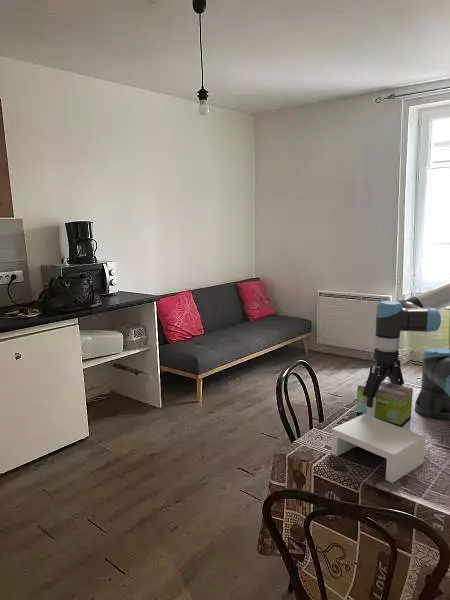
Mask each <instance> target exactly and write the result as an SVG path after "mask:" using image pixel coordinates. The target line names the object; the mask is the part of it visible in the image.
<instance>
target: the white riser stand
mask: <svg viewBox="0 0 450 600" xmlns="http://www.w3.org/2000/svg"><path fill="white" fill-rule="evenodd" d="M425 445H426V436H425V435H422V434H421V433H417V432H415V431H411V430H410V429H409V430H406V429H404V428H401V427H398V426H395V425H393V424H390V423H387V422H385V421H382V420H379V419H376V418H374V417H371V416H368V415H365V414H363V415H361V416H359V417H356V416H355V418H352V419H350V420H348V421H344V422H343V423H341V424H339V425H337V426H334V427H332V428H331V444H330V447H331V449H330V451H331V452H330V453H331V455H333V456H335V457H338V456H340V455H342V454H344V453H346V452H348V451H350V450H351V449H354V448H356V447H359V448H361V449H364V450H365V451H369V452H370V453H372V454H375V455H377V456H380V457H382V458H384V459H386V467H385V480H386V482H387V481H388V482H390V483H391V484H393V483H395V482H397V481H398V480H400V479H401V478H402V477H404V476H405V475H407V474H408V473H410V472H412V471H414V470H415V469H416V468H418V467H419V466H421V465H422V464H424V462H425V461H424V460H425V448H426V447H425Z"/></svg>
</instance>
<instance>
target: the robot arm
mask: <svg viewBox="0 0 450 600" xmlns="http://www.w3.org/2000/svg"><path fill="white" fill-rule="evenodd" d="M448 306H450V280H449V281H446V282H444V283H441V284H440V285H437V286H435V287H433V288H431V289H428V290H425V291H424V292H421V293H420V294H419V293H418V294H417V295H414V296H412V297H409V298H407V299H398V300H381V301H379V302H378V303H377V307H376V314H375V334H374V335H375V336H374V347H375V348H374V350H373V351H374V352H373V359H374V361H376V365H375V366H374V365H370V367H369V373H368V377H367V379H366V381H367V382H366V385H365V388H364V391H363V396H366V397H367V412H366V415H368V416H371V417H375V409H376V398H375V395H376V393H377V391H378V389H379V387H380V384H381V382H382V381H384V380H386V379H387V378H388V379H389V381H390V383H392V384H396V385H401V386H404V383H405V381H404V377H403V376H404V375H403V372H402V369H401V360H399V354H400V353H399V349H400V340H401V339H400V337H401V332H421V333H423V332H424V333H428V332H437V331H438V330H440V328H441V323H442V317H441V313H440V311H439V310H441V309H444V308H446V307H448ZM421 368H422V371H421V385H420V386H421V388H420V391H419V393H418V396H417V398H416V400H415V402H414V410H415V411H416V412H417V413H418V414H419V415H422V416H424V417H426V418H430V419H435V420H442V421H443V420H444V421H448V420H449V421H450V349H449V348H429V349H428V348H427V349H426V350H424V351H423V356H422V367H421Z"/></svg>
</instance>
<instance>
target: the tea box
mask: <svg viewBox="0 0 450 600" xmlns="http://www.w3.org/2000/svg"><path fill="white" fill-rule="evenodd" d="M366 382H367V380H365V381H364V382H362V383H360V384H359V385H357V391H356V393H357V394H356V397H357V398H356V411H355V412H356V413H355V415H356V416H355V418H356V417H359V416H361V415H363V414H365V415H366V412H367V397H366V396H363V391H364V388H365V385H366ZM413 391H414V389H413V388H412V387H408V386H404V385H403V386H401V385H396V384H392V383H391V382H388V381H384V380H383V381H382V382H381V384H380V387H379V389H378V391H377V393H376V395H375V398H376V409H375V417H374V418H376V419H379V420H382V421H385V422H387V423H390V424H393V425H395V426H398V427H401V428H404V429H406V430H409V431H410V430H411V420H412V408H413V407H412V405H413V394H414V392H413Z"/></svg>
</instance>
